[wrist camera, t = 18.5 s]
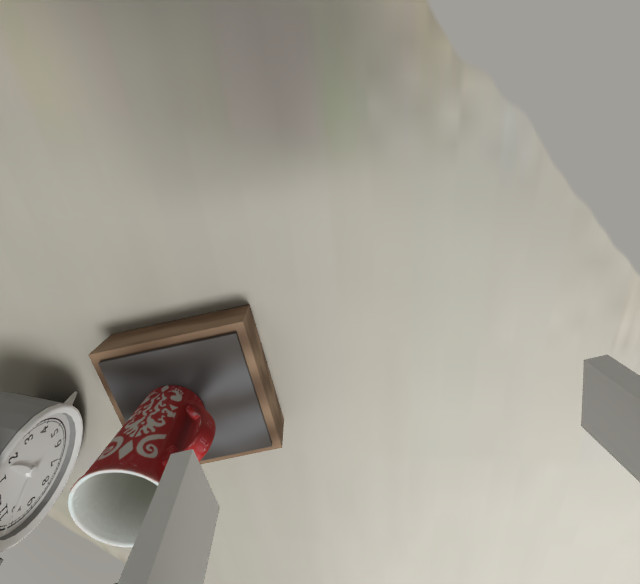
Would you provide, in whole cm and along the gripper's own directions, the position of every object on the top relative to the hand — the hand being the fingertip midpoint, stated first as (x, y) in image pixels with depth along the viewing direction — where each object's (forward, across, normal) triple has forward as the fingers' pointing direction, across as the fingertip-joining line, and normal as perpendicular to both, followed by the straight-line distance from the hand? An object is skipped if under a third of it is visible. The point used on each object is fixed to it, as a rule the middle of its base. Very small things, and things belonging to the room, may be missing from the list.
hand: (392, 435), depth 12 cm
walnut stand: (+34, -20, -16) cm, 42 cm away
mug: (+28, -20, -15) cm, 38 cm away
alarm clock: (+34, -41, -16) cm, 56 cm away
